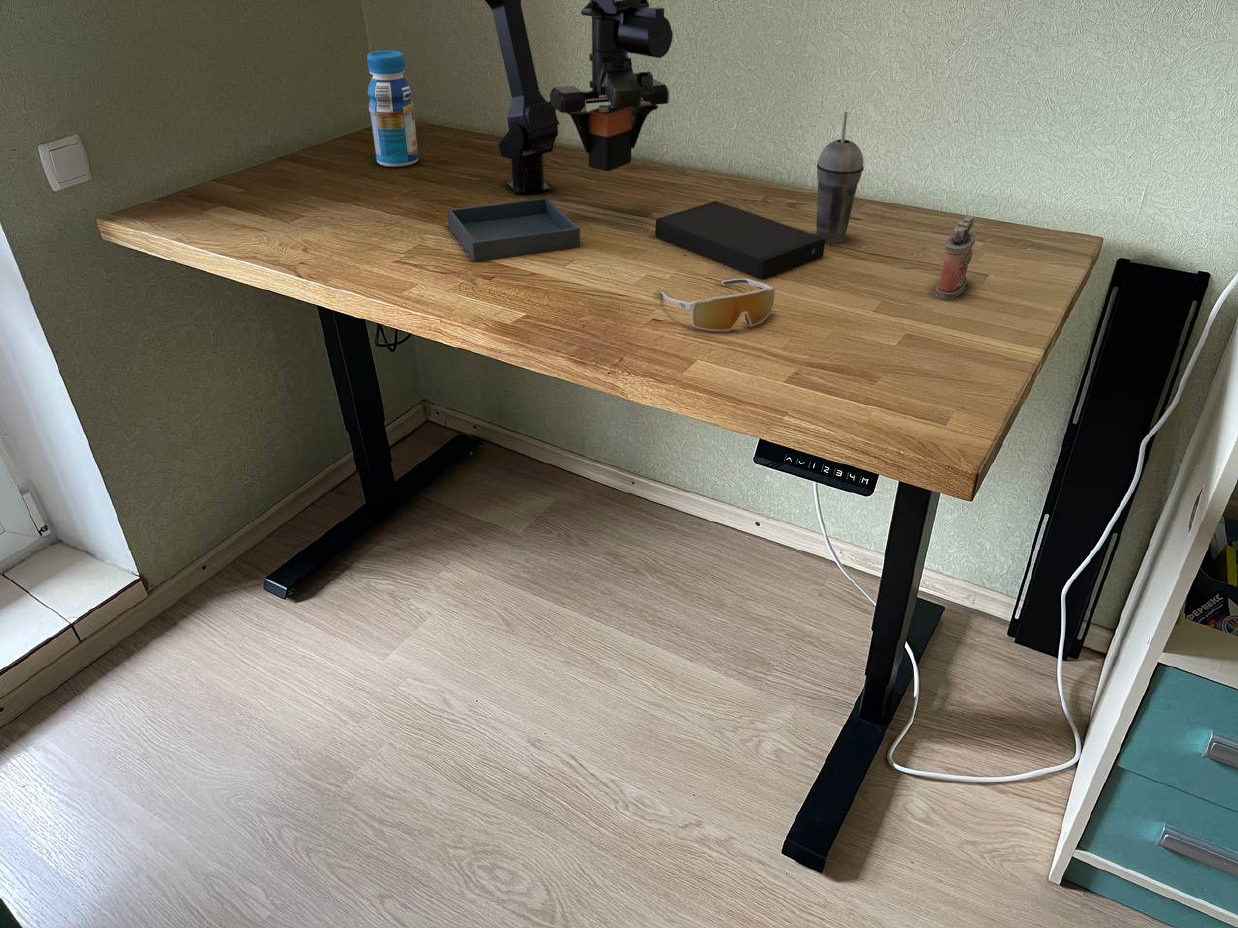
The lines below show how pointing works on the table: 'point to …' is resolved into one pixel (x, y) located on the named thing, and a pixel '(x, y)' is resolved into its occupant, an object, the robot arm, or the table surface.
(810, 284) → the table surface
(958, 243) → the lighter
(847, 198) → the beverage cup
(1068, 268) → the table surface
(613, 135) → the battery
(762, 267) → the external hard drive
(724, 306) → the sunglasses
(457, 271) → the table surface
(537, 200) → the tray
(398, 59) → the beverage bottle
